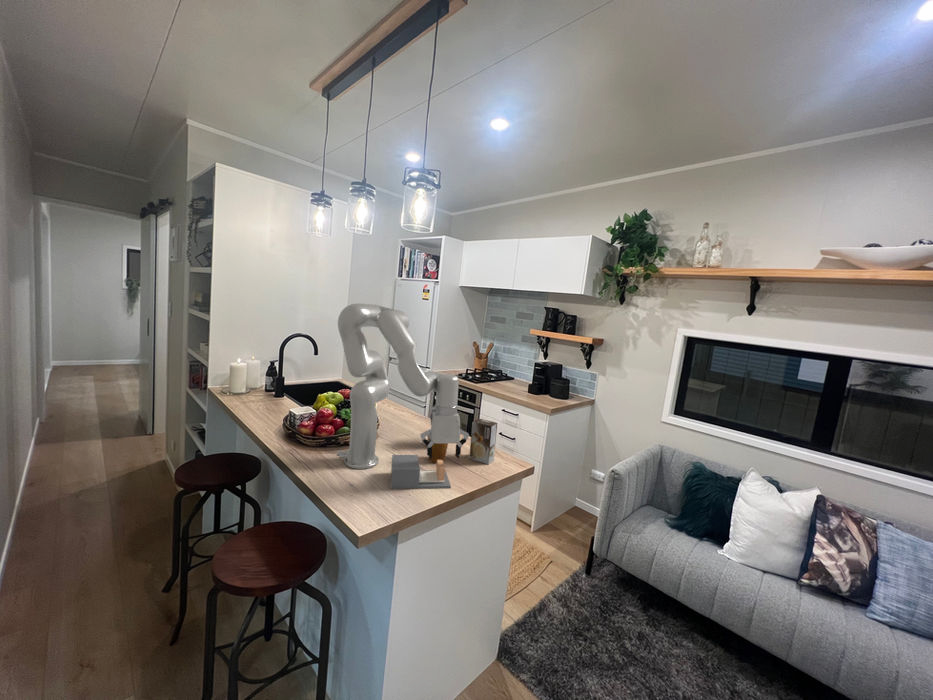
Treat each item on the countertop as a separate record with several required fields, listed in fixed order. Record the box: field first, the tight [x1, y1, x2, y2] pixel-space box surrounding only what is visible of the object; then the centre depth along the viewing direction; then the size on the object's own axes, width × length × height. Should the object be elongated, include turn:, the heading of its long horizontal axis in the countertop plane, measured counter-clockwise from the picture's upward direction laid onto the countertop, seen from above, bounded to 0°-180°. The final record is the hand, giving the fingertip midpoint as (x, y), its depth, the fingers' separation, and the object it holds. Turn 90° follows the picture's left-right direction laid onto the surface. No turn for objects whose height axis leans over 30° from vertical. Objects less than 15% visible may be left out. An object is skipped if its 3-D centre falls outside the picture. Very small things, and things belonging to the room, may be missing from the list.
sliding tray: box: [419, 460, 446, 483], centre depth 131 cm, size 18×8×5 cm, turn 102°
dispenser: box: [390, 454, 452, 490], centre depth 131 cm, size 20×12×7 cm, turn 102°
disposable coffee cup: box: [426, 434, 449, 464], centre depth 149 cm, size 10×10×12 cm
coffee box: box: [468, 418, 498, 465], centre depth 154 cm, size 9×6×16 cm
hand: (443, 457), depth 132 cm, fingers open, 9 cm apart
